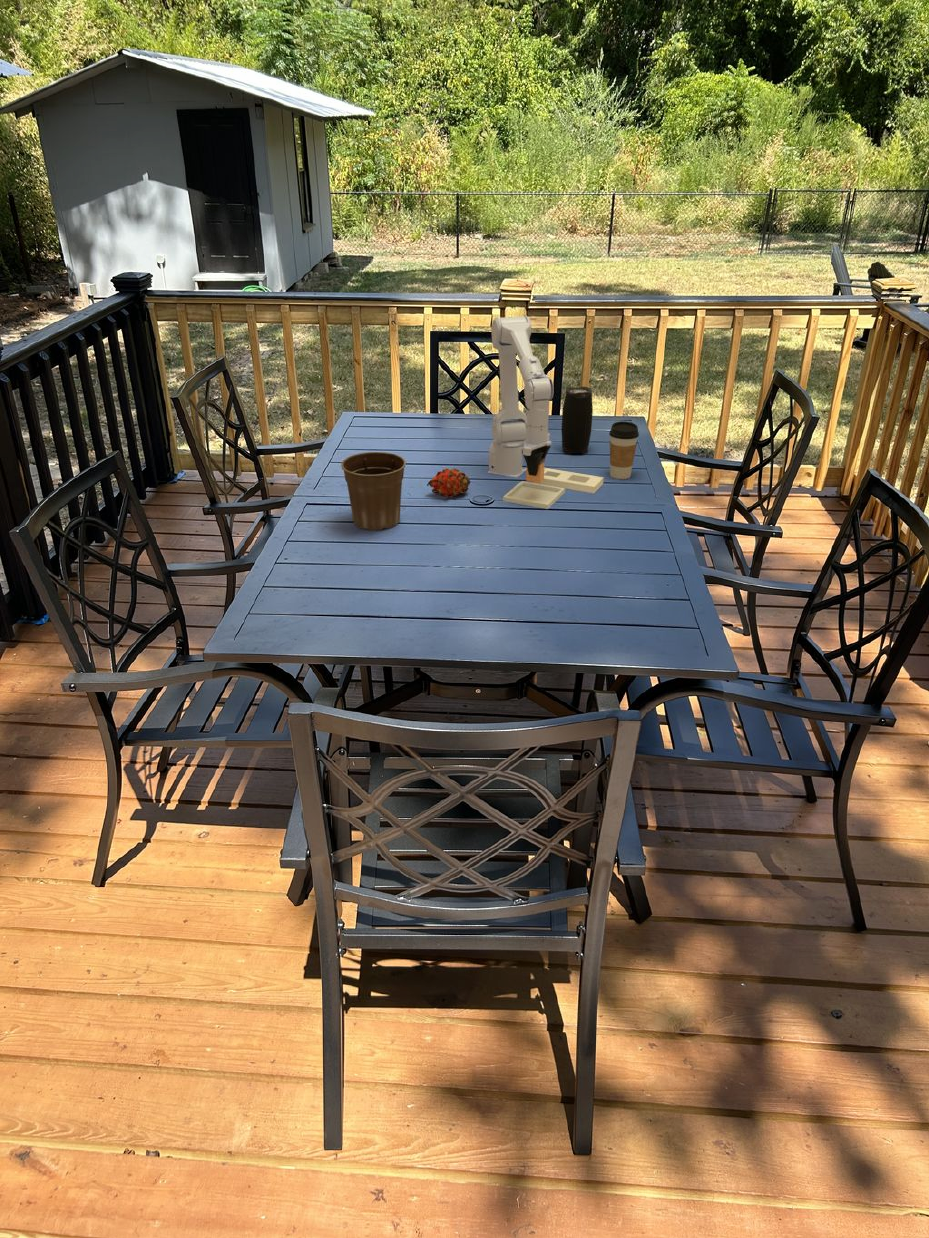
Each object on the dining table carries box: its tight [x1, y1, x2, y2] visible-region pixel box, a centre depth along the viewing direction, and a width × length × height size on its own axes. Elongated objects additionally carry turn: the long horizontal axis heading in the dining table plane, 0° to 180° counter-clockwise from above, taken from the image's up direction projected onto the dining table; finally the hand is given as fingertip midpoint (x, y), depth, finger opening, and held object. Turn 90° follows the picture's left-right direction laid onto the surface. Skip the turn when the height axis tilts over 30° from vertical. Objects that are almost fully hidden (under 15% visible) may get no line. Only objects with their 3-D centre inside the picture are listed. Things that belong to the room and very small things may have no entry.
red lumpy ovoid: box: [426, 467, 471, 499], centre depth 249 cm, size 8×8×12 cm
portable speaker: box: [561, 386, 594, 456], centre depth 277 cm, size 9×9×20 cm
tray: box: [502, 480, 566, 510], centre depth 248 cm, size 13×13×2 cm
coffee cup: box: [608, 420, 640, 480], centre depth 260 cm, size 8×8×15 cm
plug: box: [525, 457, 546, 483], centre depth 245 cm, size 4×3×6 cm
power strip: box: [533, 467, 604, 494], centre depth 257 cm, size 18×8×3 cm, turn 64°
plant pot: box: [341, 451, 407, 531], centre depth 231 cm, size 16×16×16 cm
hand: (535, 472), depth 245 cm, fingers closed on plug, 3 cm apart
